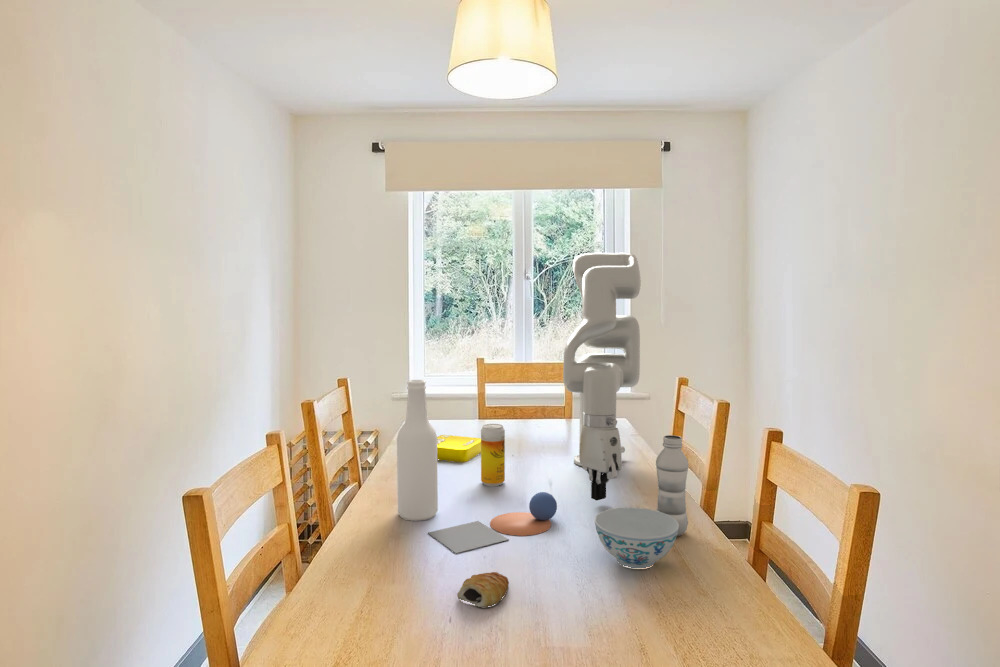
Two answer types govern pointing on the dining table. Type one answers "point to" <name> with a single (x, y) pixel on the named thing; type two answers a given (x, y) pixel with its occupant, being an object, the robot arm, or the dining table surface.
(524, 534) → the orange disc
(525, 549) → the dining table surface
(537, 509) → the ball
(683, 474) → the plastic bottle
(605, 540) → the chinaware
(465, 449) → the element tile
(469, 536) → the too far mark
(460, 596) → the pastry
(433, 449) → the alcohol
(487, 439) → the beer can
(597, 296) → the robot arm
